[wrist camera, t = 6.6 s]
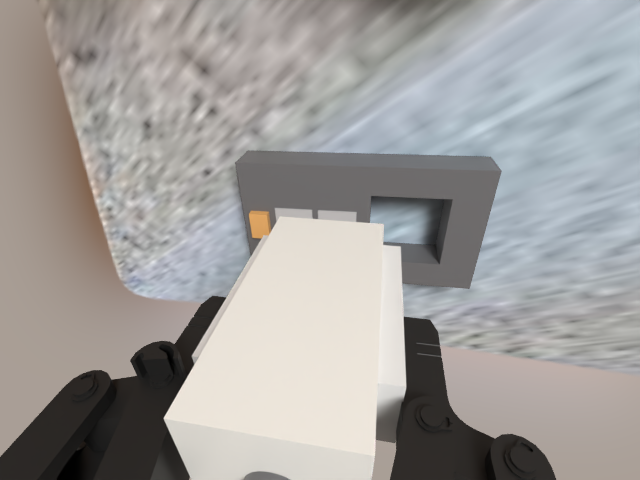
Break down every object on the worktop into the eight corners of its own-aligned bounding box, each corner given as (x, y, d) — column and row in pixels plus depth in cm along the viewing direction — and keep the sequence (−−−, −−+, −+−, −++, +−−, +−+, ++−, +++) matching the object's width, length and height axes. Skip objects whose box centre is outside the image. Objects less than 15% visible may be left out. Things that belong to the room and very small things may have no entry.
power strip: (490, 156, 27) (503, 174, 24) (463, 268, 33) (470, 293, 30) (247, 150, 30) (232, 165, 27) (262, 253, 36) (251, 275, 33)
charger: (383, 223, 14) (372, 534, 6) (375, 304, 16) (358, 607, 8) (279, 216, 15) (126, 482, 6) (286, 294, 17) (182, 564, 9)
